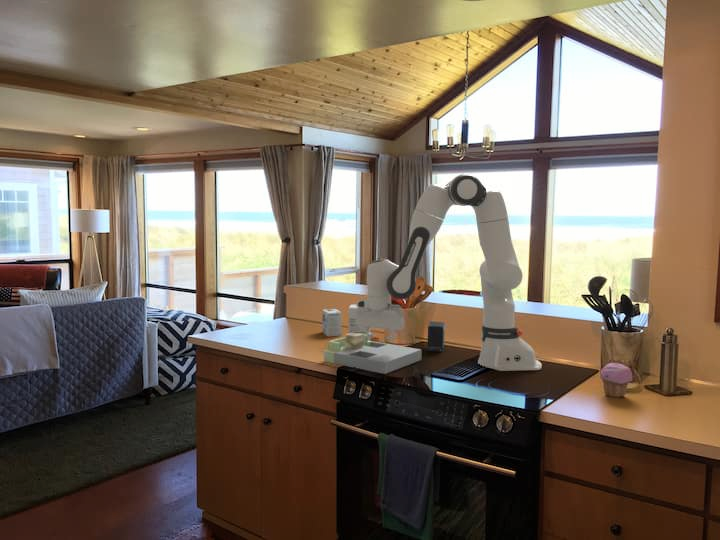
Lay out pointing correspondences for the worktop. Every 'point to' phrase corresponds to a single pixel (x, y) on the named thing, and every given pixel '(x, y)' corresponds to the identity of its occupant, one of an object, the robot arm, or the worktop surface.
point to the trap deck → (371, 355)
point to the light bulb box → (331, 322)
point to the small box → (436, 336)
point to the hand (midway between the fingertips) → (380, 339)
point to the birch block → (353, 340)
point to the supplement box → (354, 322)
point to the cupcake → (615, 379)
